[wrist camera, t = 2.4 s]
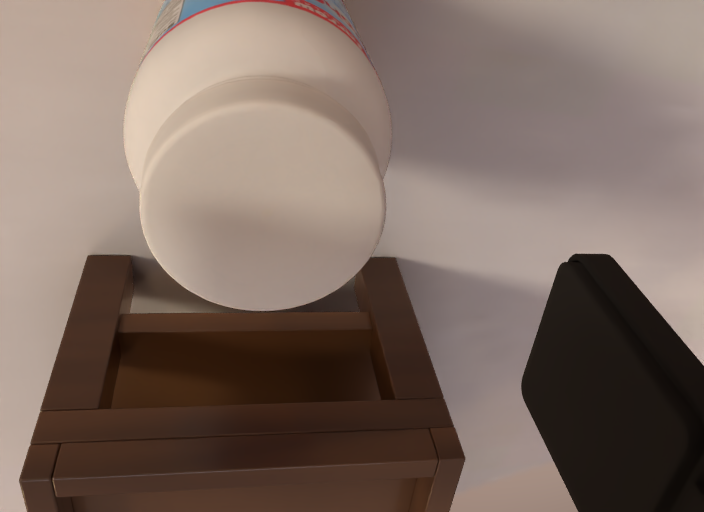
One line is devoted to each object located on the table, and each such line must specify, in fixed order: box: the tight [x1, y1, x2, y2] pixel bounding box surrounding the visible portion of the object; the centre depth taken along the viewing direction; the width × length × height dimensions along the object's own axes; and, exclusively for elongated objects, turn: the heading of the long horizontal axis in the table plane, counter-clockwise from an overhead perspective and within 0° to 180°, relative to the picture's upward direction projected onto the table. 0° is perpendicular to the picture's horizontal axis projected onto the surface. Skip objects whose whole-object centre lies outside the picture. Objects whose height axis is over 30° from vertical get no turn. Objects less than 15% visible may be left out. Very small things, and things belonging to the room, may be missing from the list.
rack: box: [19, 255, 465, 512], centre depth 26 cm, size 14×12×10 cm
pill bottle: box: [123, 0, 392, 311], centre depth 17 cm, size 6×6×11 cm
